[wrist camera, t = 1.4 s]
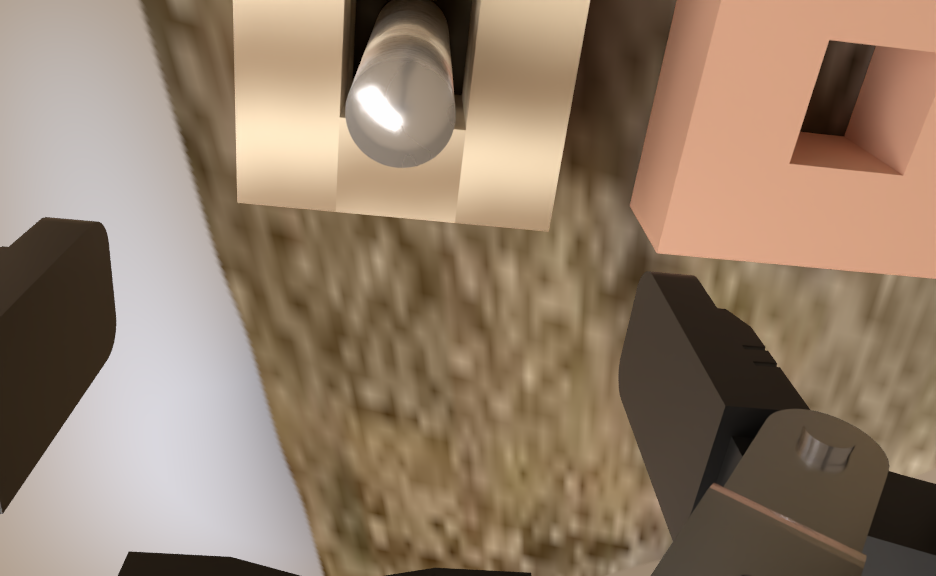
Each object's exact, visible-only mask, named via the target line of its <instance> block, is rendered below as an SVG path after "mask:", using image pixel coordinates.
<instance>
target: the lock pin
mask: <svg viewBox="0 0 936 576" xmlns="http://www.w3.org/2000/svg"><path fill="white" fill-rule="evenodd" d="M345 117H346V124H347V127H348V131H349V133H350V135H351V137H352V139H353V141H354V142H355V144H356V145H357V146H358V148H359V149H360V150H361V151H362V152H363V153H364V154H365V155H367V156H368V157H369V158H371V159H372V160H374V161H376V162H378V163H380V164H383V165H386V166H389V167H395V168H409V167H414V166H418V165H421V164H424V163H426V162H428V161H430V160H431V159H433V158H434V157H436V156H437V155H438V154H439V153H440V152H441V151H442V150H443V149H444V148H445V146H446V145H447V143H448V142H449V140H450V138H451V136H452V133H453V130H454V126H455V120H456V111H455V99H454V87H453V76H452V64H451V52H450V40H449V29H448V23H447V20H446V18H445V16H444V14H443V12H442V11H441V9H440V8H439V7H438V6H437V5H436V4H435V3H434V2H433V1H431V0H391V1H390V2H388V3H387V4H386V5H385V6H384V7H383V9H382V10H381V11H380V13H379V15H378V18H377V20H376V23H375V25H374V28H373V31H372V33H371V36H370V39H369V41H368V44H367V46H366V49H365V52H364V54H363V57H362V60H361V62H360V65H359V68H358V70H357V73H356V75H355V78H354V81H353V83H352V86H351V89H350V91H349V94H348V97H347V101H346V108H345Z"/></svg>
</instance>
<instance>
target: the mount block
mask: <svg viewBox="0 0 936 576" xmlns="http://www.w3.org/2000/svg"><path fill="white" fill-rule="evenodd" d="M589 4H590V0H473V1H472V10H471V18H470V27H469V36H468V45H467V54H466V63H465V71H464V80H463V89H462V95H454V99H455V111H456V120H455V126H454V130H453V133H452V136H451V138H450V140H449V142H448V143H447V145H446V146H445V148H444V149H443V150H442V151H441V152H440V153H439V154H438V155H437V156H436V157H434V158H433V159H431V160H430V161H428V162H426V163H424V164H421V165H418V166H414V167H409V168H395V167H389V166H386V165H383V164H380V163H378V162H376V161H374V160H372V159H371V158H369V157H368V156H367V155H365V154H364V153H363V152H362V151H361V150H360V149H359V148H358V146H357V145H356V144H355V142H354V141H353V139H352V137H351V135H350V133H349V131H348V127H347V124H346V117H345V108H346V101H347V97H348V94H349V91H350V89H351V86H352V81H353V60H354V39H355V18H356V0H233V20H234V66H235V112H236V158H237V203H247V204H258V205H269V206H279V207H290V208H301V209H312V210H322V211H333V212H344V213H355V214H365V215H376V216H387V217H398V218H409V219H419V220H430V221H441V222H452V223H462V224H473V225H484V226H495V227H505V228H516V229H527V230H538V231H549V226H550V221H551V215H552V210H553V204H554V199H555V193H556V187H557V182H558V176H559V171H560V165H561V160H562V154H563V149H564V143H565V137H566V132H567V126H568V121H569V115H570V110H571V104H572V99H573V93H574V87H575V82H576V76H577V71H578V65H579V60H580V54H581V48H582V43H583V37H584V32H585V26H586V21H587V15H588V10H589Z"/></svg>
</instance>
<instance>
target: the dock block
mask: <svg viewBox="0 0 936 576" xmlns="http://www.w3.org/2000/svg"><path fill="white" fill-rule="evenodd" d="M829 40H834V41H842V42H851V43H859V44H867V45H876V47H875V50H874V53H873V55H872V58H871V61H870V64H869V67H868V70H867V73H866V75H865V78H864V81H863V84H862V87H861V90H860V92H859V95H858V98H857V101H856V104H855V107H854V110H853V112H852V115H851V118H850V121H849V124H848V127H847V130H846V132H845V135H844V136H836V135H826V134H817V133H808V132H800V129H801V126H802V123H803V120H804V117H805V114H806V111H807V108H808V105H809V101H810V98H811V95H812V92H813V89H814V86H815V83H816V80H817V77H818V73H819V70H820V67H821V64H822V61H823V58H824V55H825V52H826V49H827V46H828V42H829ZM630 207H631V209H632V210H633V212H634V214H635V216H636V217H637V219H638V221H639V223H640V224H641V226H642V228H643V230H644V231H645V233H646V235H647V237H648V238H649V240H650V242H651V244H652V245H653V247H654V249H655V251H656V252H657V253H661V254H672V255H683V256H694V257H705V258H716V259H727V260H737V261H748V262H759V263H770V264H781V265H792V266H803V267H814V268H825V269H836V270H847V271H858V272H869V273H879V274H890V275H901V276H912V277H923V278H934V279H936V0H677V1H676V6H675V10H674V15H673V19H672V23H671V28H670V32H669V36H668V41H667V45H666V50H665V54H664V58H663V63H662V67H661V71H660V76H659V80H658V84H657V89H656V93H655V98H654V102H653V106H652V111H651V115H650V119H649V124H648V128H647V133H646V137H645V141H644V146H643V150H642V154H641V159H640V163H639V168H638V172H637V176H636V181H635V185H634V189H633V194H632V198H631V203H630Z"/></svg>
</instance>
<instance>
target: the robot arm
mask: <svg viewBox="0 0 936 576" xmlns="http://www.w3.org/2000/svg"><path fill="white" fill-rule="evenodd" d="M115 333H116V312H115V301H114V291H113V283H112V271H111V261H110V251H109V242H108V236H107V232H106V229H105V228H104V226H103V225H102V223H100V222H94V221H83V220H72V219H60V218H50V217H45V218H42V219H41V220H39V221H38V222H37V223H36V224H35V225H33V226H32V227H31V228H30V229H29V230H28V231H27V232H25V233H24V234H23V235H22V236H21V237H20V238H18V239H17V240H16V241H15V242H14V243H13V244H12V245H10V246H9V247H3V246H2V247H0V514H3V513H4V511H5V509H6V508H7V507H8V505H9V504H10V502H11V501H12V499H13V498H14V496H15V495H16V493H17V492H18V490H19V489H20V488H21V486H22V484H23V483H24V482H25V480H26V479H27V477H28V476H29V474H30V473H31V471H32V470H33V468H34V467H35V465H36V464H37V463H38V461H39V460H40V458H41V457H42V455H43V454H44V452H45V451H46V449H47V448H48V446H49V445H50V443H51V442H52V440H53V439H54V437H55V436H56V435H57V433H58V432H59V430H60V429H61V427H62V426H63V424H64V423H65V421H66V420H67V418H68V417H69V415H70V414H71V413H72V411H73V410H74V408H75V406H76V405H77V404H78V402H79V401H80V399H81V398H82V396H83V395H84V393H85V392H86V390H87V389H88V388H89V386H90V385H91V383H92V382H93V380H94V379H95V377H96V376H97V374H98V373H99V371H100V370H101V368H102V367H103V365H104V364H105V362H106V361H107V359H108V358H109V356H110V353H111V351H112V348H113V344H114V339H115ZM619 392H620V397H621V400H622V403H623V406H624V408H625V411H626V414H627V417H628V419H629V422H630V425H631V428H632V430H633V433H634V436H635V438H636V441H637V444H638V447H639V449H640V452H641V455H642V458H643V460H644V463H645V466H646V469H647V471H648V474H649V477H650V480H651V482H652V485H653V488H654V491H655V493H656V496H657V499H658V502H659V504H660V507H661V510H662V512H663V515H664V518H665V521H666V523H667V526H668V529H669V532H670V534H671V537H672V540H673V543H672V544H671V546H670V547H669V549H668V550H667V552H666V553H665V555H664V556H663V558H662V559H661V561H660V562H659V564H658V566H657V567H656V568H655V570H654V572H653V573H652V575H651V576H936V484H933V483H930V482H926V481H922V480H919V479H915V478H911V477H908V476H904V475H900V474H897V473H894V472H890V471H889V461H888V458H887V456H886V454H885V452H884V451H883V450H882V448H881V447H880V446H879V445H878V444H877V443H876V442H875V441H874V440H873V439H872V438H871V437H870V436H868V435H867V434H866V433H864V432H863V431H861V430H860V429H858V428H857V427H855V426H853V425H851V424H849V423H848V422H845V421H843V420H841V419H839V418H836V417H833V416H831V415H828V414H824V413H821V412H817V411H812V410H810V409H809V407H808V406H807V405H806V403H805V402H804V400H803V399H802V398H801V396H800V395H799V394H798V392H797V391H796V389H795V388H794V387H793V385H792V384H791V382H790V381H789V380H788V378H787V377H786V375H785V374H784V373H783V371H782V370H781V368H780V367H777V363H776V361H775V360H774V359H773V357H772V356H771V354H770V353H769V352H768V351H765V346H764V345H763V343H762V342H761V340H760V339H759V338H758V336H757V335H756V333H755V332H754V331H753V329H752V328H751V327H750V326H749V325H747V324H746V323H744V322H743V321H742V320H740V319H739V318H738V317H736V316H735V315H733V314H732V313H731V312H729V311H728V310H726V309H719V308H717V307H716V306H715V304H714V303H713V301H712V300H711V298H710V297H709V295H708V294H707V292H706V291H705V289H704V288H703V286H702V285H701V283H700V282H699V280H698V279H697V278H696V277H695V276H693V275H681V274H670V273H659V272H645V273H644V274H643V276H642V277H641V279H640V281H639V284H638V288H637V292H636V296H635V300H634V304H633V308H632V312H631V317H630V321H629V325H628V329H627V333H626V337H625V341H624V346H623V350H622V354H621V358H620V364H619ZM118 576H299V575H296V574H292V573H288V572H285V571H281V570H277V569H273V568H270V567H266V566H263V565H259V564H255V563H251V562H248V561H244V560H240V559H237V558H233V557H221V556H202V555H183V554H165V553H164V554H163V553H145V552H128V555H127V557H126V559H125V561H124V564H123V566H122V568H121V570H120V572H119V575H118ZM386 576H531V573H524V572H505V571H486V570H467V569H448V568H431V569H425V570H418V571H412V572H405V573H399V574H393V575H386Z"/></svg>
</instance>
